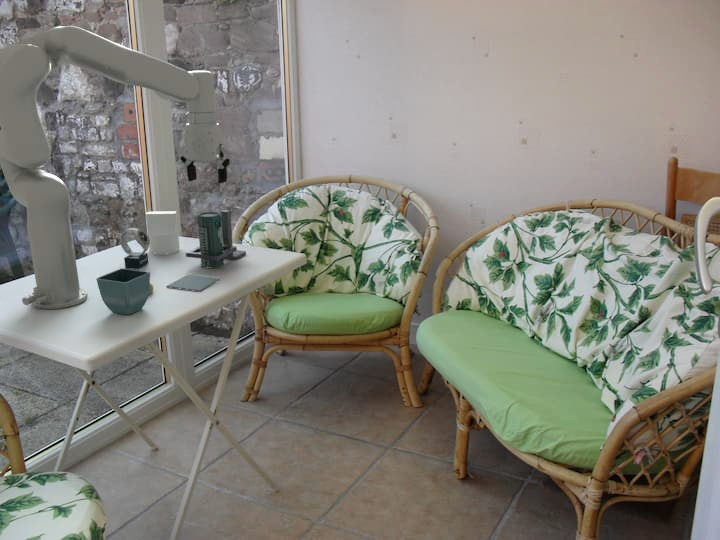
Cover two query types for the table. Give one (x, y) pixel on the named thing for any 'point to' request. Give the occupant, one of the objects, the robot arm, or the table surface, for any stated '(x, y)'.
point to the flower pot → (124, 290)
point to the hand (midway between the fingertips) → (207, 181)
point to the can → (210, 237)
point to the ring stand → (228, 248)
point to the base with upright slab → (162, 232)
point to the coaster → (193, 282)
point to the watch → (135, 258)
